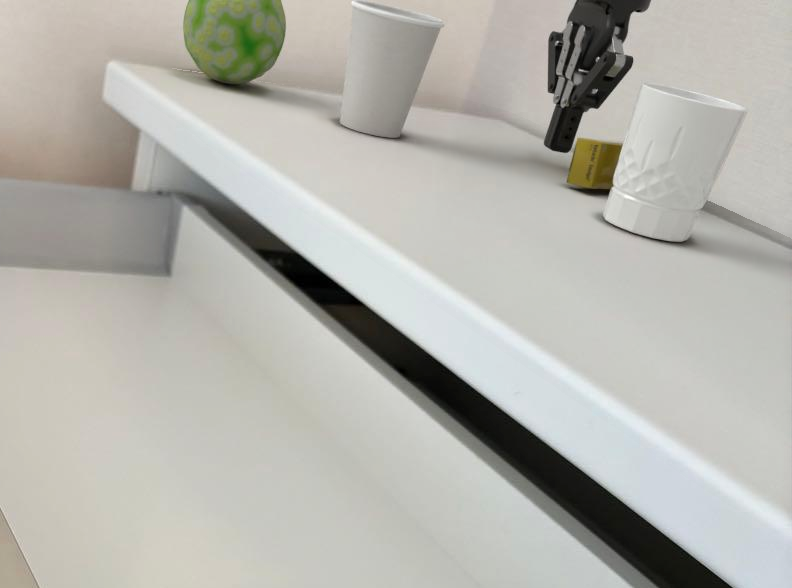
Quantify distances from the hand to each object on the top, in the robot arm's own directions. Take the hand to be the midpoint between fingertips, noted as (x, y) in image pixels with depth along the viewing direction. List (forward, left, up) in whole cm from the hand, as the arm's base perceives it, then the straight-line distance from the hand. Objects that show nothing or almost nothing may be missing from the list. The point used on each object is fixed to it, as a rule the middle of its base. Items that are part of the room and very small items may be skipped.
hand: (555, 149), depth 103 cm
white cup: (+1, +21, -2) cm, 20 cm away
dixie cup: (+18, -1, -2) cm, 18 cm away
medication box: (-3, +7, -2) cm, 8 cm away
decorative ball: (+30, -13, -2) cm, 32 cm away
